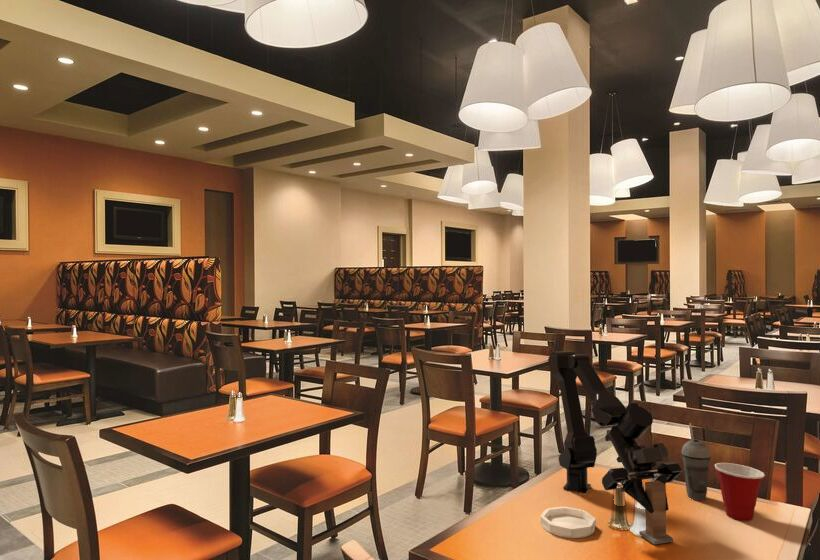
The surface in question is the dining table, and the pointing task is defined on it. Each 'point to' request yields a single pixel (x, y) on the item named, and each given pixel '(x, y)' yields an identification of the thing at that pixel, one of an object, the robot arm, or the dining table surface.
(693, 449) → the beverage cup
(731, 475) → the plastic cup
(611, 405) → the robot arm
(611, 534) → the dining table surface
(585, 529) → the saucer
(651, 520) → the brown tall rectangular block
